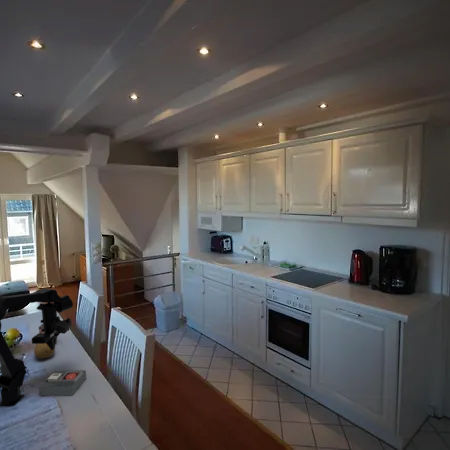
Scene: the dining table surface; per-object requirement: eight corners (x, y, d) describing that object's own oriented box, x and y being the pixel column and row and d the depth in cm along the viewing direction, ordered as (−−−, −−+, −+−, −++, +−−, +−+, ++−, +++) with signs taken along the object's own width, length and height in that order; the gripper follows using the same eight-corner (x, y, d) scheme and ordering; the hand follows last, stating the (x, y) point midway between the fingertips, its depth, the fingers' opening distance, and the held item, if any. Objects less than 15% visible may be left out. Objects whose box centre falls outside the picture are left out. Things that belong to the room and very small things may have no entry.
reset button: (73, 389, 134) (73, 378, 133) (64, 389, 134) (63, 378, 133) (78, 383, 138) (77, 373, 137) (69, 383, 138) (68, 373, 137)
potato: (53, 348, 172) (52, 334, 171) (58, 358, 161) (57, 343, 160) (32, 354, 166) (31, 339, 165) (36, 365, 155) (34, 349, 154)
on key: (57, 389, 134) (56, 378, 133) (48, 389, 134) (47, 378, 133) (62, 383, 138) (61, 373, 137) (53, 384, 138) (52, 373, 137)
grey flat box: (72, 395, 130) (71, 384, 129) (39, 396, 130) (38, 384, 130) (86, 378, 141) (85, 368, 141) (55, 379, 142) (54, 368, 142)
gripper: (54, 324, 133) (57, 360, 134) (77, 308, 151) (80, 340, 153) (29, 324, 133) (32, 360, 135) (55, 309, 152) (57, 340, 153)
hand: (52, 349), depth 144 cm, fingers closed
